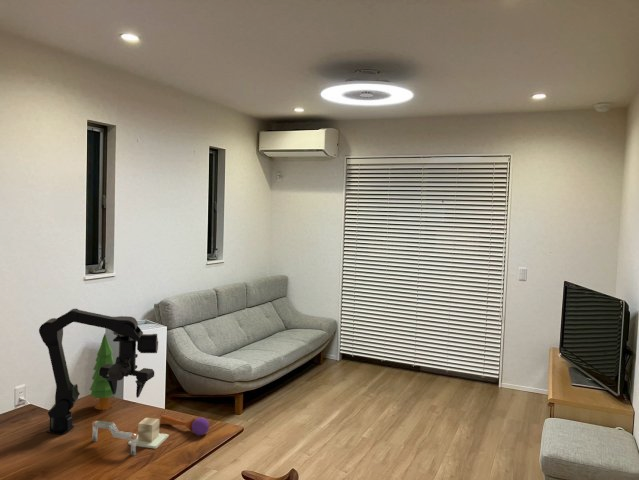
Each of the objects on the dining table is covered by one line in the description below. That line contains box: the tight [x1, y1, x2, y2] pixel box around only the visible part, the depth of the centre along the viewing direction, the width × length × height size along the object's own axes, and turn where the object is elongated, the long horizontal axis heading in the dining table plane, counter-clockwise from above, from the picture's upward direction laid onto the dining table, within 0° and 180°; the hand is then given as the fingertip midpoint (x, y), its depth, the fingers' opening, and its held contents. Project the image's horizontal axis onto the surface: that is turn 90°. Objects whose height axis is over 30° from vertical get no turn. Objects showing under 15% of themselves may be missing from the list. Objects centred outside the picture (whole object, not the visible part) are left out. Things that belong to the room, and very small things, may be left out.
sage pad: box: [127, 432, 169, 450], centre depth 174 cm, size 10×9×1 cm
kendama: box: [159, 414, 210, 436], centre depth 184 cm, size 6×6×20 cm
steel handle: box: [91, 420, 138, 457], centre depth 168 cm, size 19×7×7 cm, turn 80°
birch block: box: [137, 417, 160, 443], centre depth 174 cm, size 5×5×6 cm
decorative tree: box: [89, 333, 116, 411], centre depth 199 cm, size 10×9×30 cm
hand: (125, 395), depth 182 cm, fingers open, 9 cm apart
